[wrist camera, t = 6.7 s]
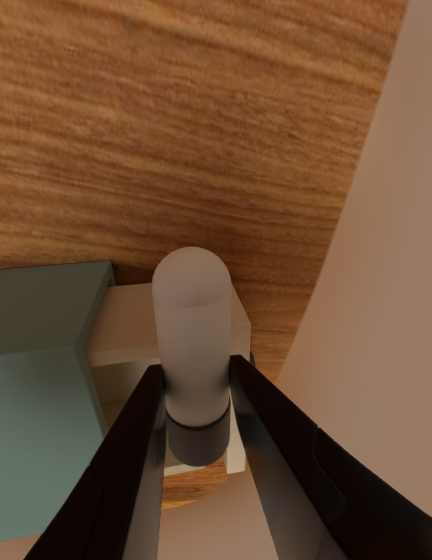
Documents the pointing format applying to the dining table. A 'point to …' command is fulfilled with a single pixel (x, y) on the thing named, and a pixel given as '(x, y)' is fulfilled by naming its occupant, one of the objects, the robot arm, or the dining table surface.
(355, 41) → the dining table surface
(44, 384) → the cabinet
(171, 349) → the marker
